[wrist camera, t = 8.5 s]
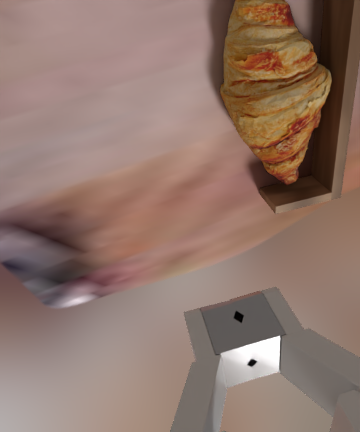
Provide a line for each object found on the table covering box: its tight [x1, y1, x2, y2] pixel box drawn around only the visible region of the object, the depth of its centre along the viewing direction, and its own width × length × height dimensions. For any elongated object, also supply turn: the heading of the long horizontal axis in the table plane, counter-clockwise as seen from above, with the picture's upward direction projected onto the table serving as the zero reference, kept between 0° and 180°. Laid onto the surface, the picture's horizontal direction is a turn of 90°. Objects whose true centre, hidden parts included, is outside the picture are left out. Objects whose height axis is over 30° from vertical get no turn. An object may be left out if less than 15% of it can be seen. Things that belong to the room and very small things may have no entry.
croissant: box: [220, 0, 332, 185], centre depth 31 cm, size 21×10×8 cm, turn 20°
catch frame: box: [260, 0, 360, 214], centre depth 32 cm, size 8×24×4 cm, turn 10°
